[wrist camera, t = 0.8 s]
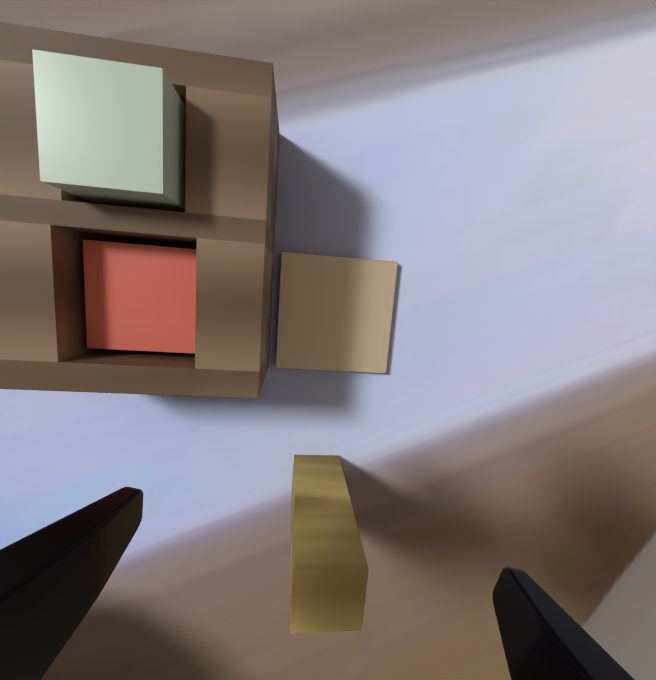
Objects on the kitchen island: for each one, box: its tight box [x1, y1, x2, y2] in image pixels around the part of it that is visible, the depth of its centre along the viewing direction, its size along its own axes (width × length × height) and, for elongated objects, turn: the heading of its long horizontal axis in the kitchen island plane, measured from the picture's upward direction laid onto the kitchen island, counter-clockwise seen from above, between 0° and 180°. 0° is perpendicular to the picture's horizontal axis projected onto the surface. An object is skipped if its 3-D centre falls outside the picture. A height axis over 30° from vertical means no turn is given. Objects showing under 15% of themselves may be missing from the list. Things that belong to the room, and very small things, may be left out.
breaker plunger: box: [83, 240, 196, 354], centre depth 16 cm, size 5×5×2 cm
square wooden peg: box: [290, 455, 368, 633], centre depth 18 cm, size 3×3×9 cm
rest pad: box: [276, 252, 398, 373], centre depth 20 cm, size 7×7×1 cm
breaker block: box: [0, 22, 279, 398], centre depth 16 cm, size 14×11×6 cm
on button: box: [32, 49, 186, 211], centre depth 13 cm, size 4×4×3 cm
